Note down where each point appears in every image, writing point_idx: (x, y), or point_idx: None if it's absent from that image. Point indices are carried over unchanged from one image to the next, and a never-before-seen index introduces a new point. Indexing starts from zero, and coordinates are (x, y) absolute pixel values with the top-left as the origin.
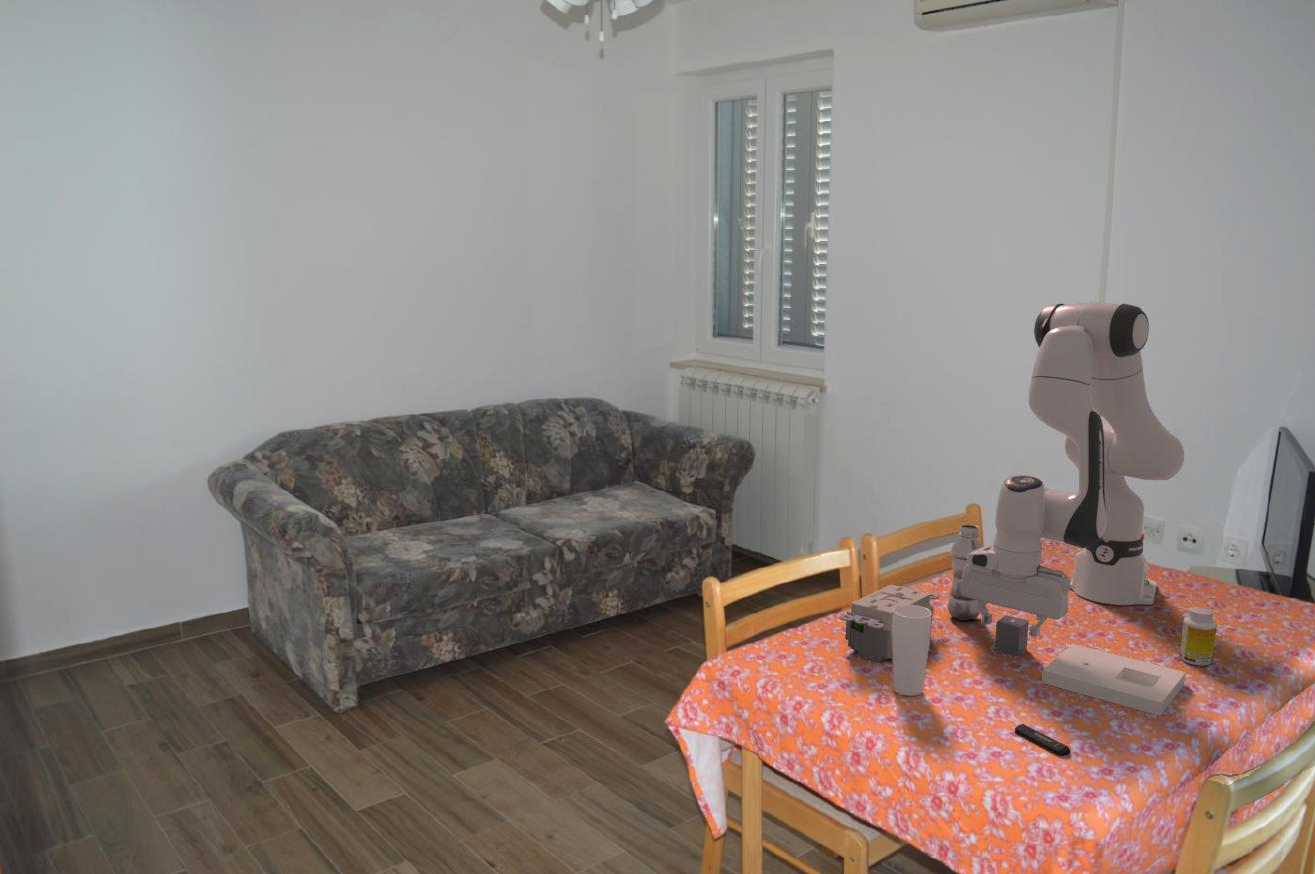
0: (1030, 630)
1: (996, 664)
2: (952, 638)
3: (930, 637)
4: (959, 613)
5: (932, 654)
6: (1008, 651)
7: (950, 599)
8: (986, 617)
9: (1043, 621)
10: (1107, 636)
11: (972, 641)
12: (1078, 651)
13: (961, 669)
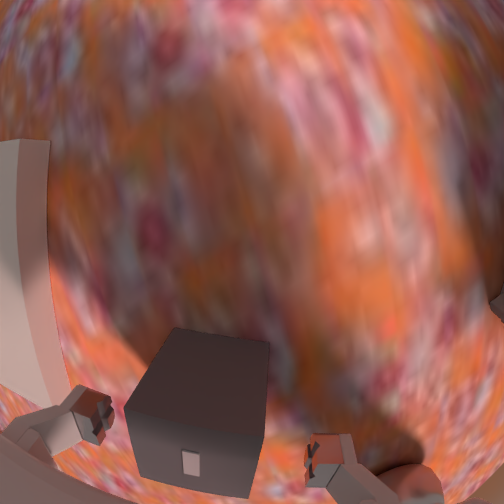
0: (93, 405)
1: (219, 199)
2: (427, 356)
3: (492, 304)
4: (412, 475)
5: (468, 164)
6: (209, 339)
7: (443, 496)
8: (331, 456)
9: (15, 419)
10: (91, 482)
11: (362, 373)
12: (20, 367)
13: (334, 65)
